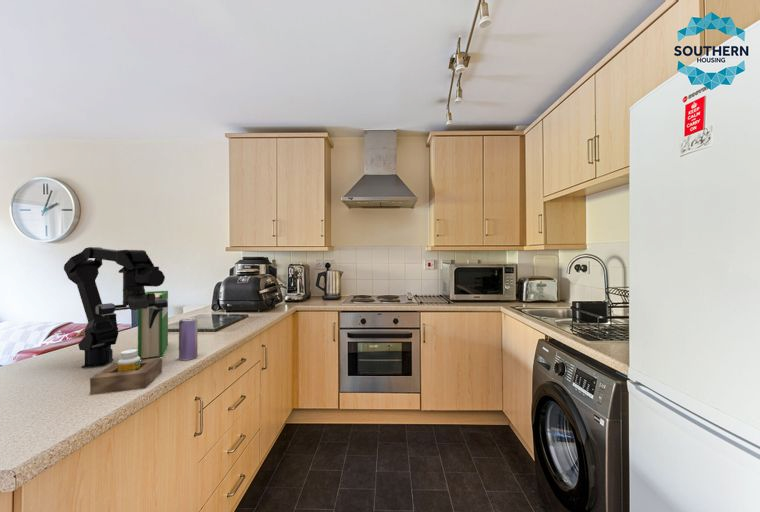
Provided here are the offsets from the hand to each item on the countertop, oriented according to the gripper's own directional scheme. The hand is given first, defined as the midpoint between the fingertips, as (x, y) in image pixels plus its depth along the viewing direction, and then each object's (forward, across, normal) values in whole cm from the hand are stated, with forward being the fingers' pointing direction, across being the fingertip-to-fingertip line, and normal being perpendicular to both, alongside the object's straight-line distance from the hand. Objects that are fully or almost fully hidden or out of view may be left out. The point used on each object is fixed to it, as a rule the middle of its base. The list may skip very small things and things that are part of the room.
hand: (133, 330), depth 104 cm
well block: (+13, -4, -14) cm, 19 cm away
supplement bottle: (+13, -4, -13) cm, 19 cm away
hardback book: (+13, +10, +15) cm, 22 cm away
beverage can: (+13, +16, -3) cm, 21 cm away
